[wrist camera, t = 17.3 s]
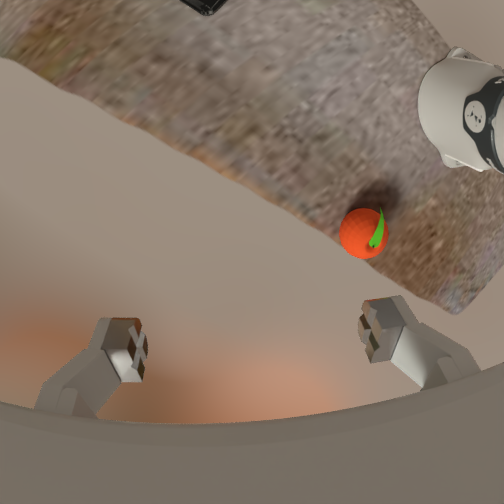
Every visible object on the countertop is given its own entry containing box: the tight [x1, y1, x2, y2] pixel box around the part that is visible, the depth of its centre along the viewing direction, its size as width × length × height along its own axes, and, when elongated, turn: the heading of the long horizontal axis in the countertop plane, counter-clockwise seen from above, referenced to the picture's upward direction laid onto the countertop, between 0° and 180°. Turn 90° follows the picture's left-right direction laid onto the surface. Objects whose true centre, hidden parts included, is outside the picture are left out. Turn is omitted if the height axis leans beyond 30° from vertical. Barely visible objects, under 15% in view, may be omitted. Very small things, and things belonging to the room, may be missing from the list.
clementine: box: [339, 208, 389, 259], centre depth 42 cm, size 8×7×7 cm
